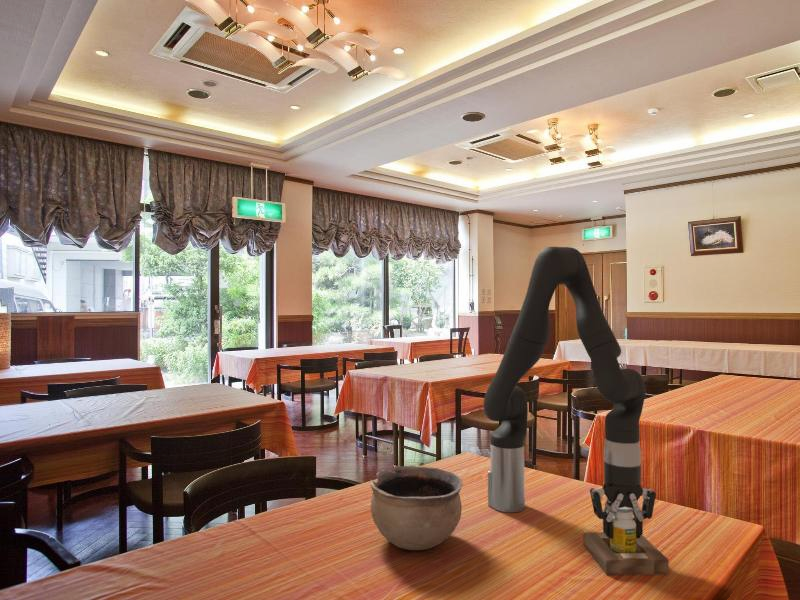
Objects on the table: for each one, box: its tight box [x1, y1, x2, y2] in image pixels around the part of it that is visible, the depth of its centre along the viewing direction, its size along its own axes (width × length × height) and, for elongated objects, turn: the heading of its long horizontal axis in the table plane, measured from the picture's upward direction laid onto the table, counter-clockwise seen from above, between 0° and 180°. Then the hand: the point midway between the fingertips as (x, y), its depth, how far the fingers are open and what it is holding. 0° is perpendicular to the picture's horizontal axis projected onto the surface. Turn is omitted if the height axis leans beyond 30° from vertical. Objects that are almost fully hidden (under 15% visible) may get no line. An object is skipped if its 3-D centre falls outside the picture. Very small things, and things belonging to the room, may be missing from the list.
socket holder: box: [582, 531, 670, 576], centre depth 113 cm, size 13×13×3 cm
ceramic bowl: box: [370, 465, 463, 551], centre depth 122 cm, size 22×22×15 cm
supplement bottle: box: [610, 507, 636, 553], centre depth 113 cm, size 5×5×10 cm
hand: (622, 536), depth 113 cm, fingers open, 5 cm apart
